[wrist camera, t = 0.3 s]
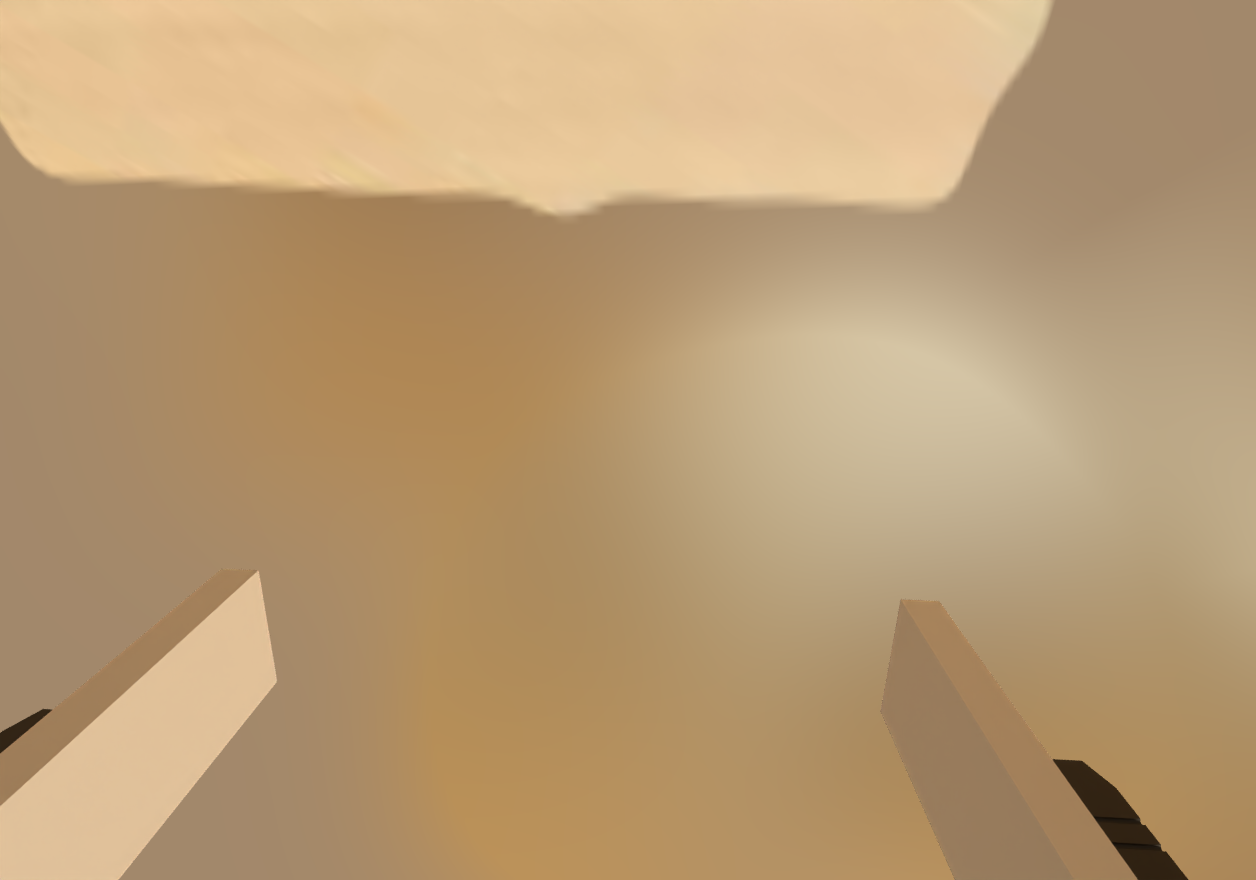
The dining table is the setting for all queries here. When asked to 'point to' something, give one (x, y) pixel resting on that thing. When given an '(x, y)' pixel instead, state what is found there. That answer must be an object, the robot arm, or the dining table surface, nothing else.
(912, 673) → the robot arm
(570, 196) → the dining table surface
